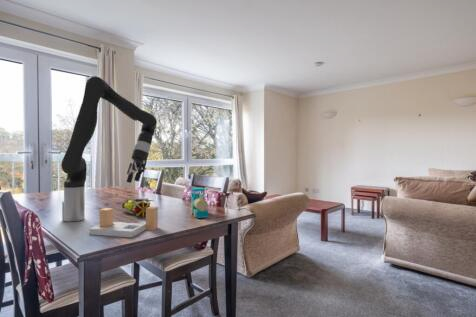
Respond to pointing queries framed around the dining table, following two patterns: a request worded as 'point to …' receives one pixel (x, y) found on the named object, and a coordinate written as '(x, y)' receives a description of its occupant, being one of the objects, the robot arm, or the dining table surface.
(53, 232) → the dining table surface
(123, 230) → the plate
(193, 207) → the teal food carton
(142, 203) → the toy
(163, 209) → the dining table surface
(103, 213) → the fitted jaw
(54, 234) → the dining table surface
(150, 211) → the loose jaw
